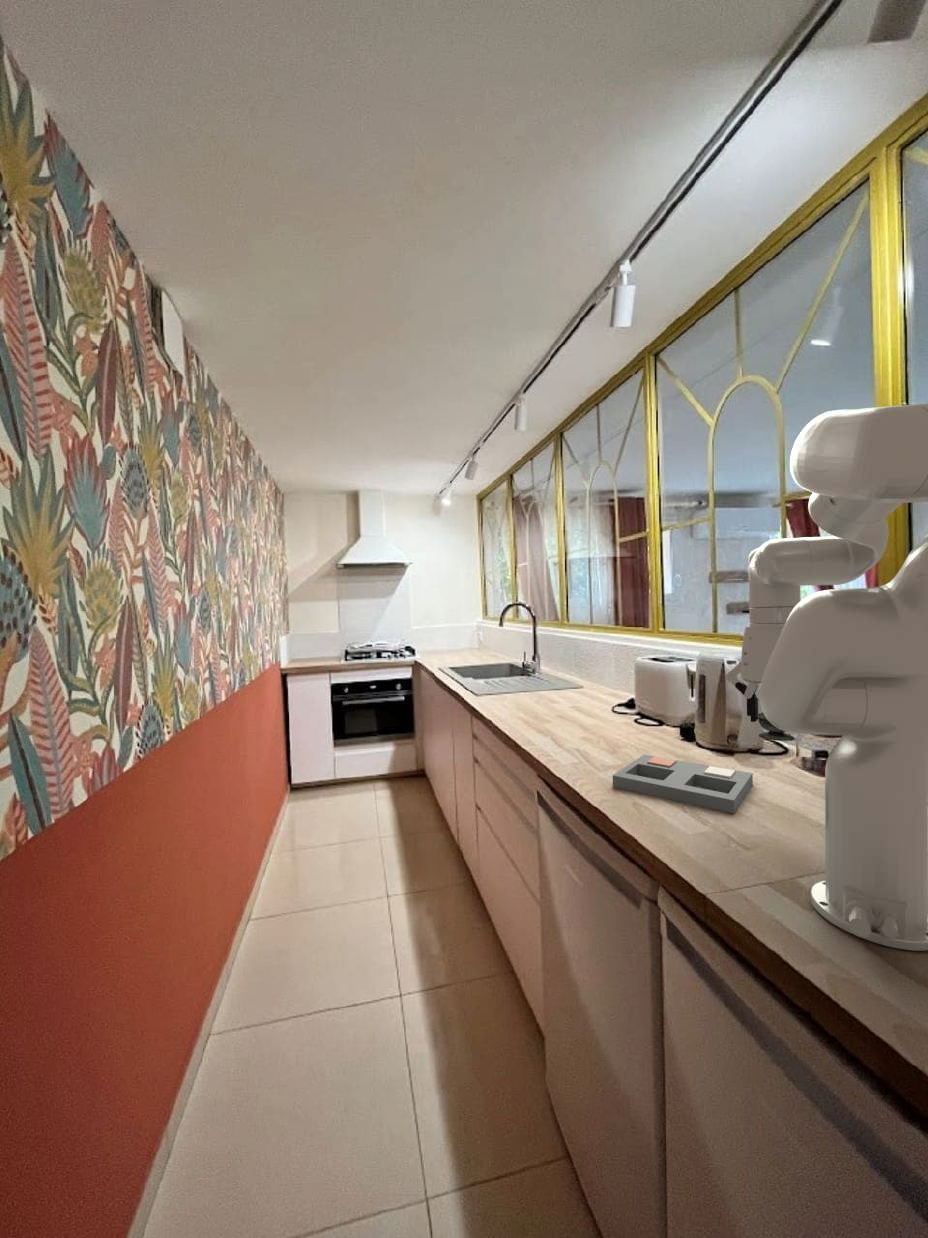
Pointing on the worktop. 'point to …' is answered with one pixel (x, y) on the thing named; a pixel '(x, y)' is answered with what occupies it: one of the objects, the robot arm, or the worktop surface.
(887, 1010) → the worktop surface
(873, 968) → the worktop surface
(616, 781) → the socket board
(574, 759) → the worktop surface
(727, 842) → the worktop surface
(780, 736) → the salt shaker
